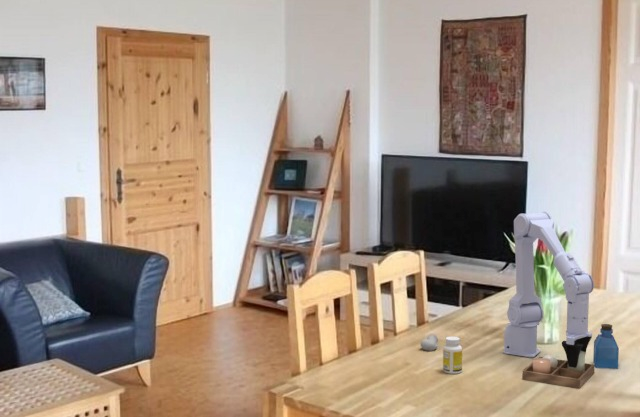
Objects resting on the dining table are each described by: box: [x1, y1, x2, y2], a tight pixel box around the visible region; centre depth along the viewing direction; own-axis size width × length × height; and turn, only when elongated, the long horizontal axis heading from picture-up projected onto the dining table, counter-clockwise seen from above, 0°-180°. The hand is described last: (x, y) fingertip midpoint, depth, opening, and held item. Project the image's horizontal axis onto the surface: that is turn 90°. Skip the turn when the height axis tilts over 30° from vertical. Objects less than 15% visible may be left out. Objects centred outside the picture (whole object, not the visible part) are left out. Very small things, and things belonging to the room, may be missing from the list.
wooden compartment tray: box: [521, 356, 596, 389], centre depth 242 cm, size 16×16×2 cm
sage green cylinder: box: [568, 351, 586, 371], centre depth 243 cm, size 5×5×6 cm
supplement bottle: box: [442, 336, 463, 375], centre depth 247 cm, size 5×5×10 cm
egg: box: [542, 354, 558, 367], centre depth 247 cm, size 5×5×5 cm
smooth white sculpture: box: [420, 333, 439, 352], centre depth 271 cm, size 4×8×5 cm
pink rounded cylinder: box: [532, 357, 551, 374], centre depth 241 cm, size 5×5×5 cm
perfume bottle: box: [592, 323, 620, 370], centre depth 251 cm, size 6×6×12 cm
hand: (576, 363), depth 243 cm, fingers open, 7 cm apart
